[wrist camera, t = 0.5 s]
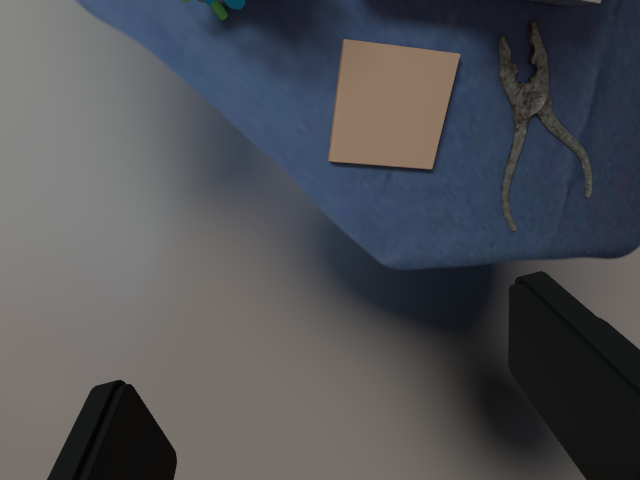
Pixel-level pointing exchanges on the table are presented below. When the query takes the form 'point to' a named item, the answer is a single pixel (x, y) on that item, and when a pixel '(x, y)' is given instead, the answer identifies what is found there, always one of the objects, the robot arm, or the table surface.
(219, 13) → the gear
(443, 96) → the tile
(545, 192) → the table surface
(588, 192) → the pliers
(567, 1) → the shelf
